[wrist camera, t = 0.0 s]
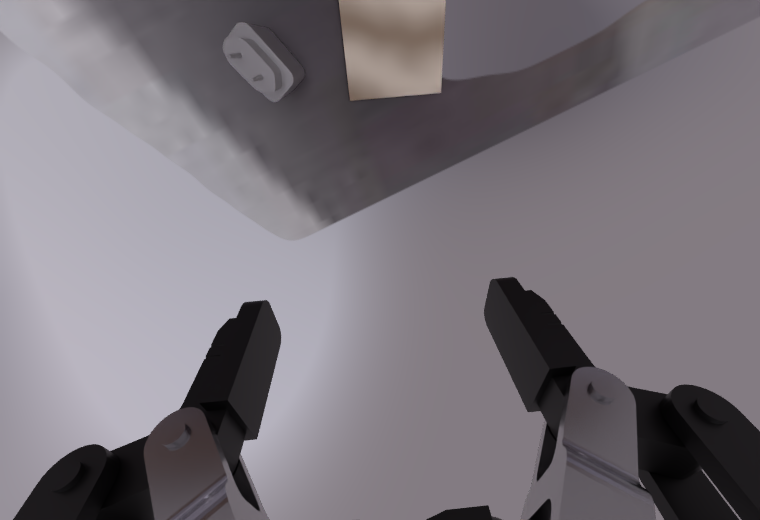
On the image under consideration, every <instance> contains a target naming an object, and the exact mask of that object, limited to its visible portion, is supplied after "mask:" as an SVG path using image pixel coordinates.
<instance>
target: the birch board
mask: <svg viewBox="0 0 760 520" xmlns="http://www.w3.org/2000/svg"><path fill="white" fill-rule="evenodd" d="M445 5H446V0H339V8H340V16H341V25H342V34H343V43H344V52H345V61H346V69H347V78H348V87H349V96H350V101H353V100H364V99H376V98H388V97H399V96H411V95H423V94H434V93H441V82H442V62H443V44H444V25H445Z"/></svg>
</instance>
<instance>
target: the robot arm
mask: <svg viewBox="0 0 760 520" xmlns="http://www.w3.org/2000/svg"><path fill="white" fill-rule="evenodd" d="M484 316H485V321H486V324H487V327H488V329H489V331H490V333H491V335H492V337H493V339H494V341H495V344H496V346H497V348H498V350H499V352H500V354H501V356H502V358H503V360H504V363H505V364H506V367H507V369H508V371H509V373H510V375H511V377H512V380H513V382H514V384H515V386H516V388H517V390H518V392H519V394H520V396H521V398H522V401H523V403H524V405H525V407H526V409H527V411H528V412H534V411H541V412H542V414H543V416H544V418H545V422H544V425H543V429H542V434H541V439H540V444H539V449H538V454H537V459H536V464H535V470H534V475H533V479H532V483H531V487H530V490H529V493H528V495H527V498H526V501H525V504H524V508H523V512H522V516H521V520H656V517H655V507H654V503H655V505H656V506H657V508H658V510H659V511H660V513H661V515H662V516H663V518H664V520H739V519H738V518H737V516H736V515H735V514H734V512H733V511H732V510H731V509H730V507H729V506H728V504H727V503H726V502H725V501H724V500H723V498H722V497H721V495H720V494H719V493H718V491H717V490H716V489H715V487H714V486H713V485H712V484H711V482H710V481H709V480H708V478H707V477H706V476H705V474H704V473H703V472H702V469H703V470H704V471H705V473H706V474H707V475H708V476H709V478H710V479H711V480H712V482H713V483H714V484H715V485H716V487H717V488H718V489H719V491H720V492H721V493H722V495H723V496H724V497H725V499H726V500H727V501H728V502H729V504H730V505H731V506H732V507H733V509H734V510H735V512H736V513H737V514H738V515H739V517H740V518H741V519H742V520H760V431H759V430H758V429H757V428H756V427H755V426H754V425H753V424H752V423H751V422H750V421H749V420H748V419H747V418H746V417H745V416H744V415H743V414H742V413H741V412H740V411H739V410H738V409H737V408H736V407H735V406H733V405H732V404H731V403H730V402H728V401H727V400H725V399H724V398H722V397H721V396H719V395H717V394H715V393H713V392H711V391H709V390H707V389H704V388H701V387H698V386H694V385H679V386H677V387H675V388H674V389H673V390H672V391H671V392H670V393H669V394H663V393H658V392H653V391H647V390H642V389H637V388H632V387H628V386H626V385H625V383H624V382H622V381H621V380H620V379H618V378H617V377H616V376H614V375H613V374H611V373H609V372H607V371H605V370H602V369H599V368H596V367H595V366H594V365H593V364H592V363H591V361H590V360H589V359H588V357H587V356H586V355H585V353H584V352H583V351H582V349H581V348H580V347H579V345H578V344H577V343H576V341H575V340H574V339H573V337H572V336H571V334H570V333H569V332H568V330H567V329H566V328H565V326H564V325H562V324H561V321H560V320H559V319H558V317H557V316H556V315H554V312H553V311H552V309H551V308H550V306H549V305H548V304H547V302H546V301H545V300H544V299H543V298H541V297H540V296H538V295H537V294H536V293H534V292H533V291H532V290H528V291H525V290H524V289H523V288H522V286H521V285H520V283H519V282H518V281H517V279H516V278H514V277H510V278H500V279H492V280H491V282H490V285H489V289H488V294H487V299H486V303H485V309H484ZM280 344H281V332H280V328H279V325H278V323H277V320H276V318H275V315H274V313H273V311H272V308H271V306H270V304H269V302H268V301H267V300H264V301H253V302H245V303H243V305H242V306H241V309H240V311H239V313H238V315H237V318H232V319H229V320H228V321H227V322H226V323H225V324H224V325H223V326H222V327H221V328H220V329H219V330H218V332H217V334H216V336H215V338H214V340H213V343H212V344H211V348H210V349H209V351H208V353H207V355H206V359H204V361H203V363H202V365H201V367H200V369H199V371H198V373H197V375H196V378H195V380H194V382H193V384H192V386H191V388H190V390H189V392H188V394H187V397H186V398H185V400H184V403H183V404H182V406H181V408H180V409H179V410H178V411H175V412H173V413H172V414H170V415H168V416H167V417H166V418H164V419H163V420H162V421H161V422H160V423H159V424H158V425H157V426H156V427H155V428H154V430H153V431H152V432H151V434H150V435H148V436H146V437H144V438H141V439H139V440H137V441H134V442H132V443H129V444H127V445H125V446H122V447H120V448H117V449H115V450H112V451H109V450H107V449H105V448H104V447H102V446H100V445H96V444H93V445H87V446H84V447H81V448H78V449H77V450H74V451H72V452H71V453H69V454H68V455H66V456H65V457H63V458H62V459H60V460H59V461H58V462H57V463H56V464H54V465H53V466H52V467H51V468H50V469H49V470H48V471H47V472H46V474H45V475H44V476H43V477H42V478H41V480H40V481H39V482H38V484H37V485H36V487H35V488H34V490H33V491H32V493H31V494H30V496H29V497H28V499H27V500H26V501H25V503H24V505H23V506H22V507H21V509H20V510H19V512H18V513H17V515H16V516H15V518H14V519H13V520H269V518H268V516H267V514H266V512H265V510H264V508H263V506H262V503H261V501H260V499H259V496H258V494H257V491H256V489H255V487H254V484H253V482H252V480H251V478H250V475H249V473H248V470H247V468H246V466H245V463H244V461H243V459H242V456H241V455H240V453H241V449H242V446H243V442H244V440H253V439H257V437H258V433H259V429H260V425H261V421H262V417H263V413H264V409H265V404H266V401H267V397H268V393H269V389H270V385H271V381H272V377H273V373H274V369H275V364H276V360H277V357H278V352H279V349H280ZM639 478H640V480H641V482H642V483H643V485H644V486H645V488H646V489H644V488H643V487H641V485H640V482H639ZM653 501H654V502H653ZM427 520H501V519H499V518H496V517H492V516H491V513H490V510H489V506H479V507H469V508H460V509H451V510H445V511H443V512H441V513H439V514H437V515H435V516H433V517H431V518H429V519H427Z"/></svg>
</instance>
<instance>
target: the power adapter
mask: <svg viewBox="0 0 760 520" xmlns="http://www.w3.org/2000/svg"><path fill="white" fill-rule="evenodd" d="M223 52H224V54H225V56H226V58H227V60H228V62H229V63H230V64H231V66H232V67H233V68H234V69H235V70H236V71H237V72H238V73H239V74H240V75H241V76H242V77H243V78H244V79H245V80H246V81H247V82H248V83H249V84H250V85H251V86H252V87H253V88H254V89H256V90H257V91H259V92H261V93H262V94H263V95H264V96H265V97H266V98H267V99H269V100H270V101H272V102H277V101H279V100H280V99H282V98H283V97H285V96H286V95H287V94H289V93H290V92H292V91H293V90H294V89H295V88H296V87H297V85H298V84H299V83H300V82H301V81H302V80H303V78H304V76H305V70H304V68H303V67H302V65H301V64H300V63H299V62H298V61H297V60H296V58H295V57H294V56H293V55H292V54H291V53H290V52H289V50H288V49H287V48H286V47H285V46H284V45H283V43H282V42H281V41H280V40H279V39H278V38H277V37H276V35H275V34H274V33H273V32H272V31H271V30H270V29H269V28H267V27H262V26H258V25H253V24H248V23H244V22H240V23H237V24H236V25H235V27H234V28H233V30H232V31H231V33H230V34H229V35H228V37H227V38H225V40H224V43H223Z"/></svg>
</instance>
